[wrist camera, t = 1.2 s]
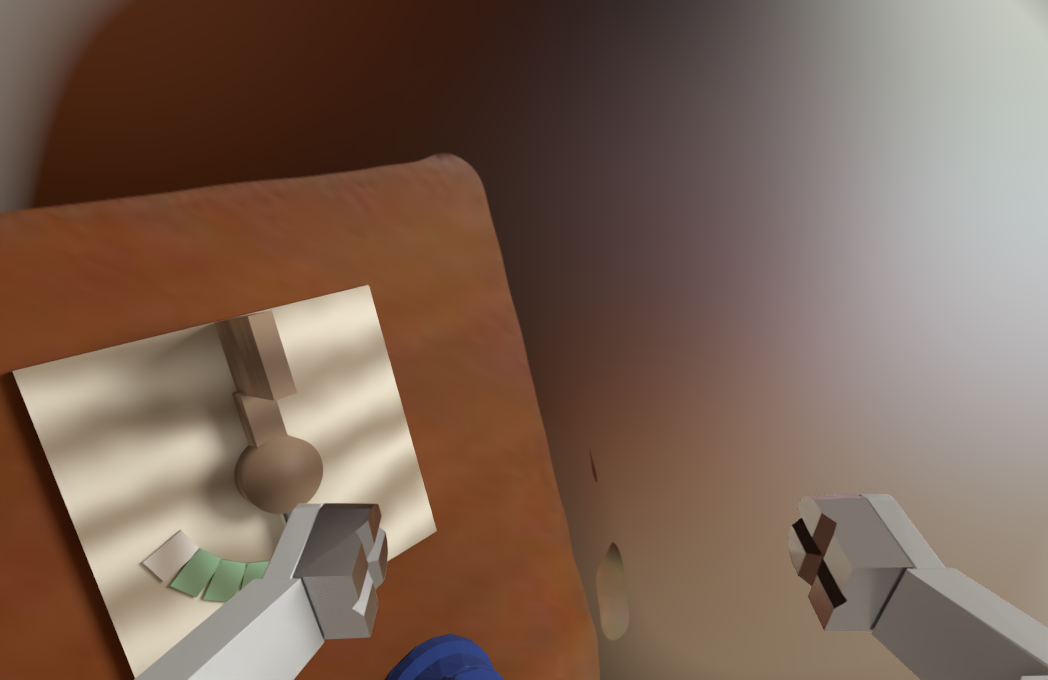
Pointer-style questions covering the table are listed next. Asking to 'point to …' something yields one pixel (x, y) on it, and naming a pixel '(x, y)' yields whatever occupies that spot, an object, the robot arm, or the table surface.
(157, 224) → the table surface
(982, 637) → the robot arm
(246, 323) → the brown wooden long piece
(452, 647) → the lantern
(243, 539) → the tuner board
